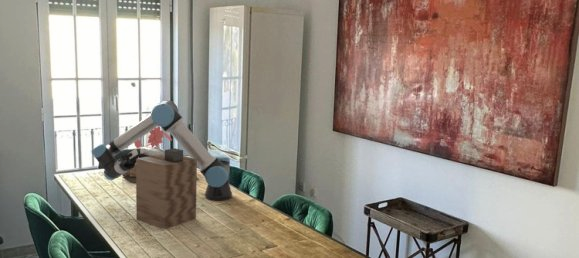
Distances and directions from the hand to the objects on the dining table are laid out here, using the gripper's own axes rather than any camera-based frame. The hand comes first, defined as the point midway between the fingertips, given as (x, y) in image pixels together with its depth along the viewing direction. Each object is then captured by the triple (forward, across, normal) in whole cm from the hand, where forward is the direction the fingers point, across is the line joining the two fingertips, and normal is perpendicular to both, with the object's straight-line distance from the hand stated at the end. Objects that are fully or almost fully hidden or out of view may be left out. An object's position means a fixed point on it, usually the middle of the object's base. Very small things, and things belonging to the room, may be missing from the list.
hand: (148, 149), depth 244 cm
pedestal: (-5, 0, -35) cm, 35 cm away
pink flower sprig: (-51, -38, -8) cm, 64 cm away
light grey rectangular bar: (+6, 0, -6) cm, 9 cm away
